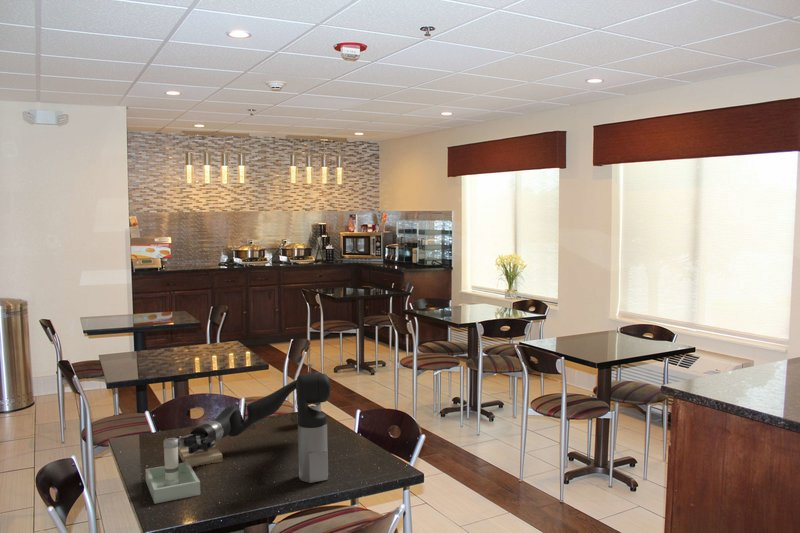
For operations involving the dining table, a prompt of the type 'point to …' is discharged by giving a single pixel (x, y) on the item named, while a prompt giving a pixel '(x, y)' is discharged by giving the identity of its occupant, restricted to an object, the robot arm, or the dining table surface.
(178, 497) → the parts tray
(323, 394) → the robot arm
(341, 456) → the dining table surface
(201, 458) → the fuse holder
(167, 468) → the fuse
